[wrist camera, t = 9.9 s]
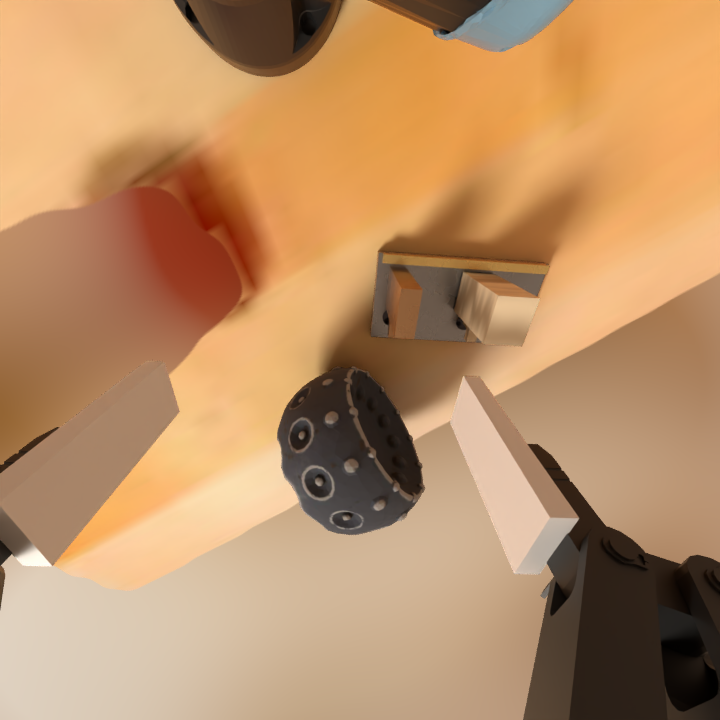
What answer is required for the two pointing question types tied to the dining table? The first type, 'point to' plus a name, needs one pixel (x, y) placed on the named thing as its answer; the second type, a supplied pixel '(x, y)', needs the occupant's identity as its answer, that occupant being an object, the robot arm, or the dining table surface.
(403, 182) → the dining table surface
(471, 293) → the block
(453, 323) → the grey board with posts
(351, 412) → the dark studded bowl
